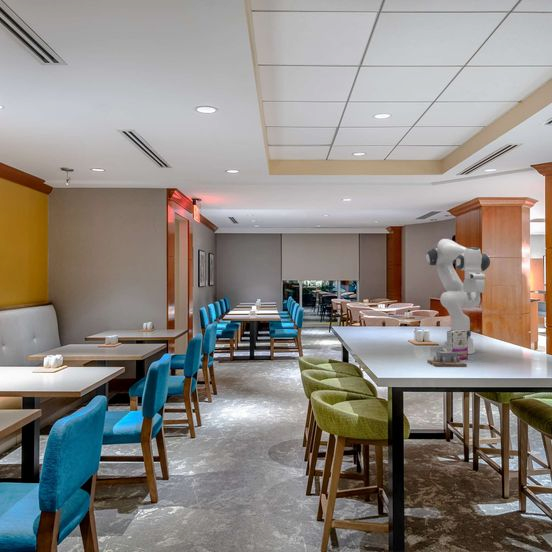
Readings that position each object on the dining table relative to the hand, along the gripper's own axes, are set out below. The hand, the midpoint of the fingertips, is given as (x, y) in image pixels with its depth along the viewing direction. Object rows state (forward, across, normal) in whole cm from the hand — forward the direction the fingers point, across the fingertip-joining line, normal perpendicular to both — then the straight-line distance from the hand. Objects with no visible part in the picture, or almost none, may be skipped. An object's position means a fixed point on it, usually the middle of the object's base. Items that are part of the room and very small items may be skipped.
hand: (473, 300), depth 263 cm
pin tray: (+34, +10, -19) cm, 40 cm away
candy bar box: (+34, -8, -6) cm, 36 cm away
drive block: (+33, +10, -19) cm, 39 cm away
